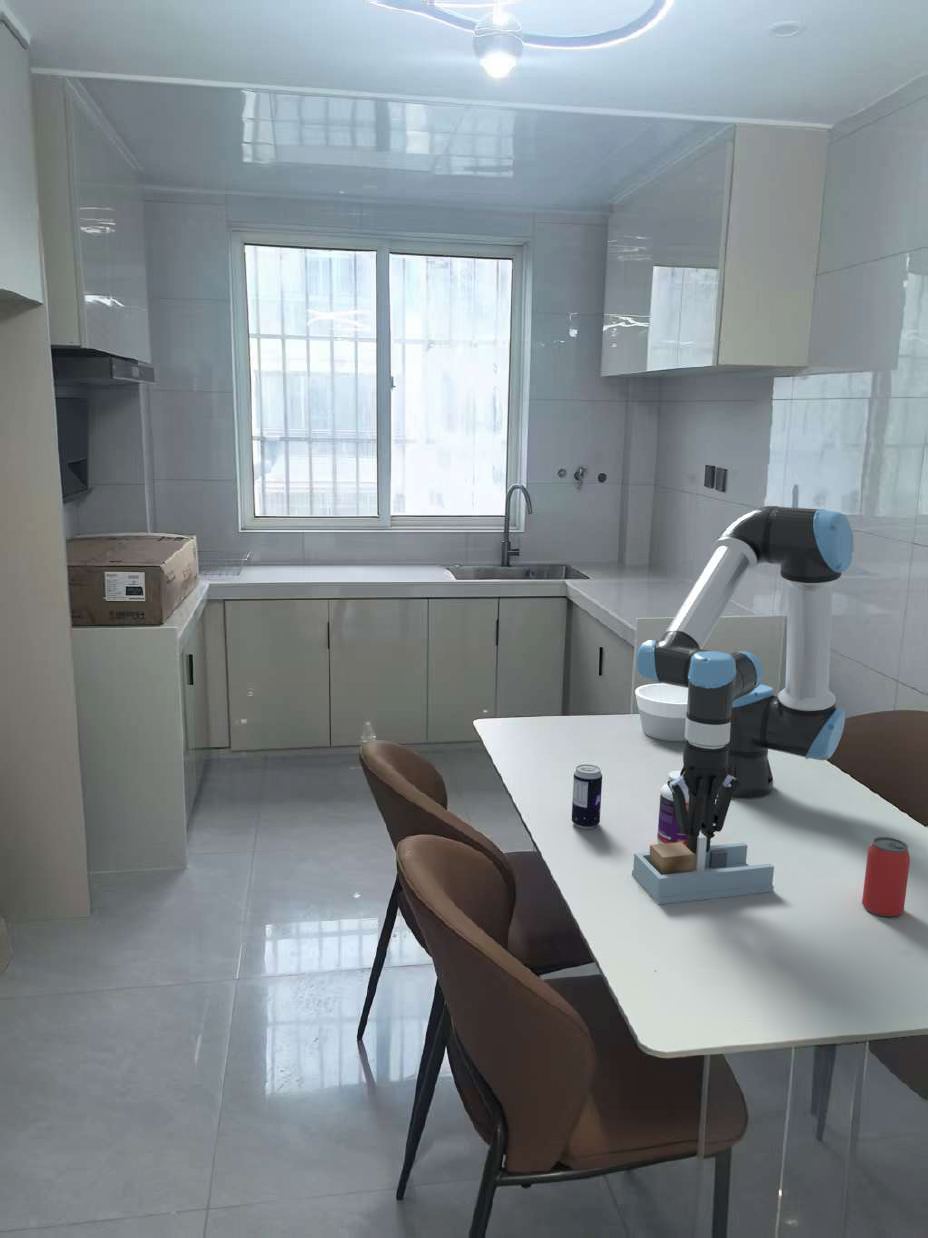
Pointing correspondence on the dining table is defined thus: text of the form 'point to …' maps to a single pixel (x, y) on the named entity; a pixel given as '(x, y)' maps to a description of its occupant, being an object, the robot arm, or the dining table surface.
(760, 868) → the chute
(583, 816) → the beverage can
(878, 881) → the beer can
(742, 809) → the dining table surface
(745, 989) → the dining table surface
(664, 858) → the walnut block
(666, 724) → the bowl
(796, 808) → the dining table surface
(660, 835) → the pill bottle
